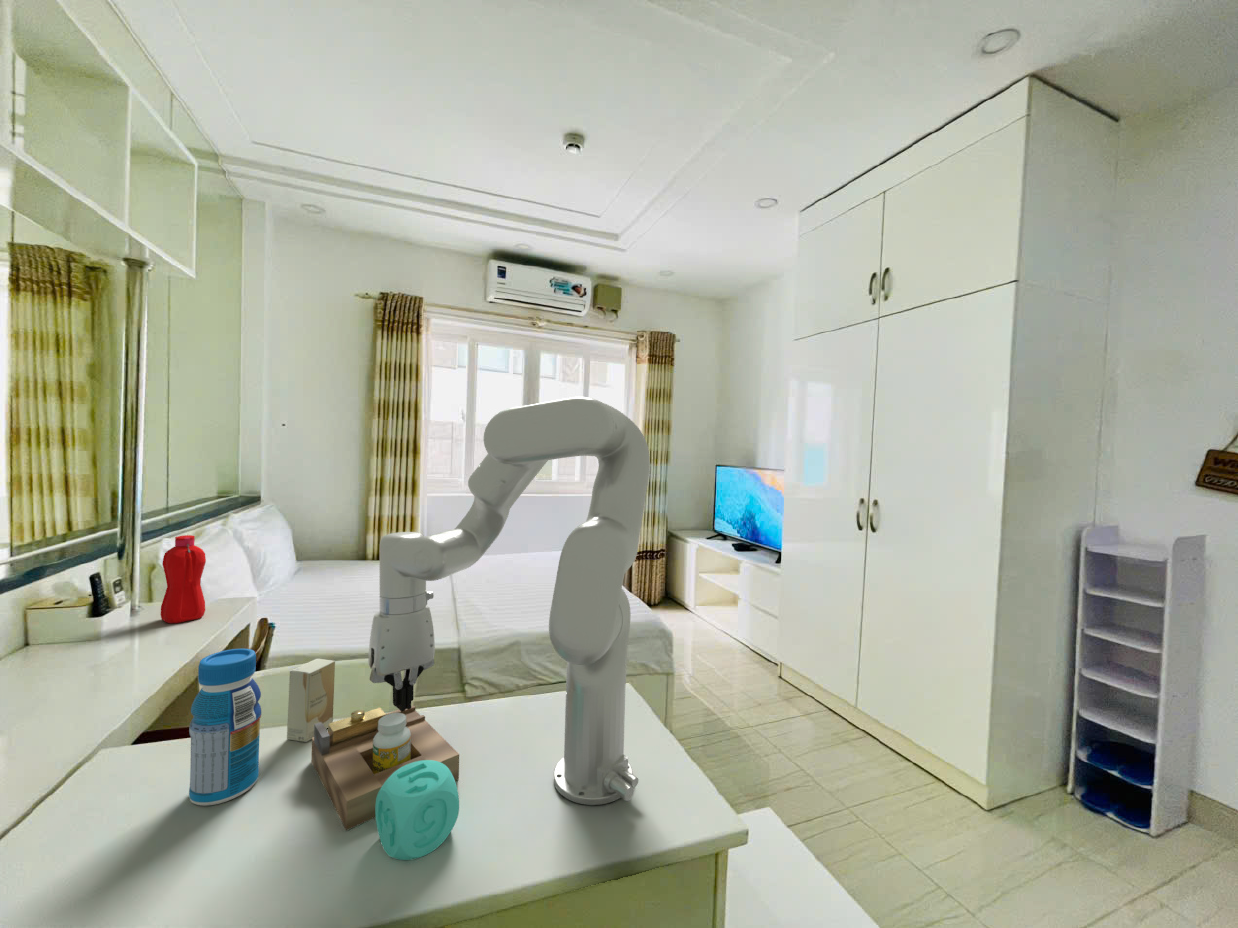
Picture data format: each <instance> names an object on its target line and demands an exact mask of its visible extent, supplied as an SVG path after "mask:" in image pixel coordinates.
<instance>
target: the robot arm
mask: <svg viewBox="0 0 1238 928" xmlns="http://www.w3.org/2000/svg"><path fill="white" fill-rule="evenodd" d="M483 446H484V448H485V451H486V452H487V454H486V455H485V457H484V458H483V459H482V460H481V462H480V463H479V465H478V466H477V467H476V468H475V470H474V471H473V472H472V473H471V475H470V476H469V479H468V481H467V486H468V488H469V491H470V493H471V494H472V495H473V501H472V505H471V507H470V508H469V509H468V511H467V513H466V514H465V516H464V517H463V518H462V519H461V521H460V522H459V523H458V525H456V527H455V528H453V529H451V530H448V531H443V532H438V533H435V534H432V535H426V536H425V535H423V534H422V533H420V532H418V531H417V532H416V531H400V532H399V531H398V532H392V533H388V534H386V535H384V536H383V537H381V539H380V542H379V612H375V613H374V615H373V618H372V623H371V630H370V636H369V645H368V661H367V662H368V667H369V668H370V669H371V672H370V675H369V681H370V682H371V683H373V684H381V683H387V684H389V685H390V686H391V687H392V704H393V706H394V707H396V708H397V710H400V711H401V712H402V711H405V709H411V706H412V701H414V686H415V684H416V683H417V680H418V678H419V677H420V676H421V674H422V673H423V671H425V670H428V669H429V668H431V667H433V666H434V665H435V659H434V658H435V653H436V650H435V648H436V646H435V632H434V631H435V630H434V623H433V618H432V613H431V608H430V607H429V606H428V601H429V600H432V599H434V595H435V594H434V592H433V591H432V590H431V591H427V582H428V581H429V582H434V581H439V580H442V579H444V578H447V577H450V576H451V575H453V574H456V573H458V572H461V571H463V570H467V569H469V568H471V567H472V566H473V565H475V564H476V563H477V562H478V561H480V559H481V558H482V556H483V555H484V554H485V553H486V552H487V551H488V549H490V547H491V545H492V544H493V543H495V541H496V540H497V538H498V536H500V534H501V532H502V530H503V528H504V526H505V524H506V521H507V520H508V517H509V514H510V510H511V508H512V507H513V505H514V504H515V502H517V500H518V499H519V498H520V496H521V495H522V494H523V493H524V491H525V490H526V489H527V487H528V486H529V485H530V484H531V483H532V481H533V480H534V478H535V477H536V476H537V475H538V474H539V473H540V471H541V470H542V469H543V468H544V466H546V464H547V462H548V461H552V460H557V459H558V460H559V459H565V458H574V457H575V458H576V457H582V456H583V457H596V459H597V460H598V469H597V472H596V477H595V479H594V483H593V487H592V492H591V499H590V504H589V509H588V515H587V518H586V521H585V522H584V523H581V524H580V525H578V526H577V527H575V528H574V529H573V530H572V531H571V533H570V534H569V535H568V536H567V537H566V540H565V542H564V544H563V547H562V549H561V553H560V556H559V559H558V560H559V561H558V566H557V572H556V575H555V576H556V577H555V583H554V588H553V595H552V600H551V605H550V610H549V618H548V635H549V640H550V643H551V646H552V647H553V648H554V651H555V653H556V654H557V655H558V656H559V657H560V658H561V659H563V660H564V661H565V662H566V680H565V681H566V682H565V709H564V711H565V713H564V714H565V715H564V716H565V717H564V749H563V753H564V754H563V757H562V758H561V759H560V760H559V761H558V762H557V763H556V765H555V768H554V771H553V784H554V787H555V788H556V791H557V792H558V793H559V794H560V795H561V796H563V797H564V798H566V799H567V800H569V801H571V802H573V803H577V804H580V805H586V806H599V805H606V804H609V803H612V802H615V801H617V800H619V799H623V800H624V801H627V802H628V801H630V800H631V799H632V797H633V796H634V791H635V790H634V788H635V787H636V786H638V785H639V784H638V783H639V777H637V776H636V775H634V772H633V767H632V766H631V764H630V762H629V757H628V756H626V755H625V754H624V750H625V749H624V747H625V720H626V719H625V713H626V712H625V711H626V687H627V686H626V685H627V684H626V683H627V664H628V650H629V649H628V648H629V646H628V645H629V637H630V628H631V614H632V613H631V605H630V601H629V598H628V595H627V594H626V592H625V591H624V589H623V585H624V577H625V574H626V573H627V571H629V569H630V568H631V567H632V565H633V564H634V562H635V561H636V558H637V555H638V551H639V542H640V535H641V534H640V533H641V528H642V523H643V517H644V509H645V503H646V497H647V490H648V483H649V477H650V469H651V467H650V465H651V460H650V458H651V457H650V449H649V446H648V444H647V441H646V437H645V436H644V434H643V432H642V430H641V429H640V428H639V426H637V424H636V423H635V422H634V421H633V420H631V418H629V417H628V416H627V415H625V414H624V413H623V412H621V411H619V410H618V409H617V408H615V407H613V406H611V405H609V404H607V403H605V402H602V401H601V400H600V401H599V400H598V399H595V398H591V397H586V396H574V397H569V398H568V397H567V398H562V399H561V398H560V399H556V400H551V401H544V402H539V403H534V404H533V403H532V404H528V405H521V406H520V405H519V406H514V407H511V408H507V409H504V410H502V411H499V412H498V413H497V414H496V413H495V414H494V416H492V417H491V419H490V420H489V421H488V423H487V424H486V427H485V428H484V433H483ZM402 672H404V673H403V678H402Z"/></svg>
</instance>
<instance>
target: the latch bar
mask: <svg viewBox="0 0 1238 928" xmlns="http://www.w3.org/2000/svg"><path fill="white" fill-rule="evenodd" d="M386 714H387V713H386V712H385V711H384V710H383V709H382V707H377V708H375V709H371V710H369V711H365V710H363V709H357V710H354V711H352V712H351V713H350V716H348V717H346V718H343V719H339V720H336V721H333V722H332V723H329V724H328V729H327V732H328V733H329V735H330V743H331V745H332V746H333V745H336V744H339V743H342V742H345V741H348V740H351V739H354V738H357V737H360V736H363V735H365V734H368V733H371V732H374V731H377V730H378V721H379V719H380V718H382V717H383V716H385V715H386Z"/></svg>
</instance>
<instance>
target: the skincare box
mask: <svg viewBox="0 0 1238 928" xmlns="http://www.w3.org/2000/svg"><path fill="white" fill-rule="evenodd" d="M335 670H336V660H331V659H324V658H314V659H313V660H310V661H308V662H306V663H303V664H300V665H299V666H298V667H295V668H293V669H290V670H289V680H288V681H289V683H288V701H287V702H288V703H287V706H288V707H287V708H288V709H287V727H286V728H287V729H286V739H287V740H291V741H295V742H296V741H298V742H303V743H304V742H305V743H308V742H309V741H310V740H311V741H312V737H314V724H317V723H320V722H322V724H323V725H324V727H325V729H326V730H328V729H327V728H328V724H329V723H332V722H334V704H335V703H334V701H335V698H334V697H335V673H336V672H335Z"/></svg>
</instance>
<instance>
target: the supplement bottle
mask: <svg viewBox="0 0 1238 928" xmlns="http://www.w3.org/2000/svg"><path fill="white" fill-rule="evenodd" d="M378 731H379V732H378V733H377V734H376V735H375V737H374V739H373V774H376V773H379V772H382V771H384V770H387V769H389V768H392V767H394V766H397V765H399V764H402V763H404V762H407V761H409V760H410V750H411V733H410V730H409V729H408V728H407V727H406V715H405V714H403V713H392V714H388V715H385V716H383V717H382V718H380V719H379V721H378Z"/></svg>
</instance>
